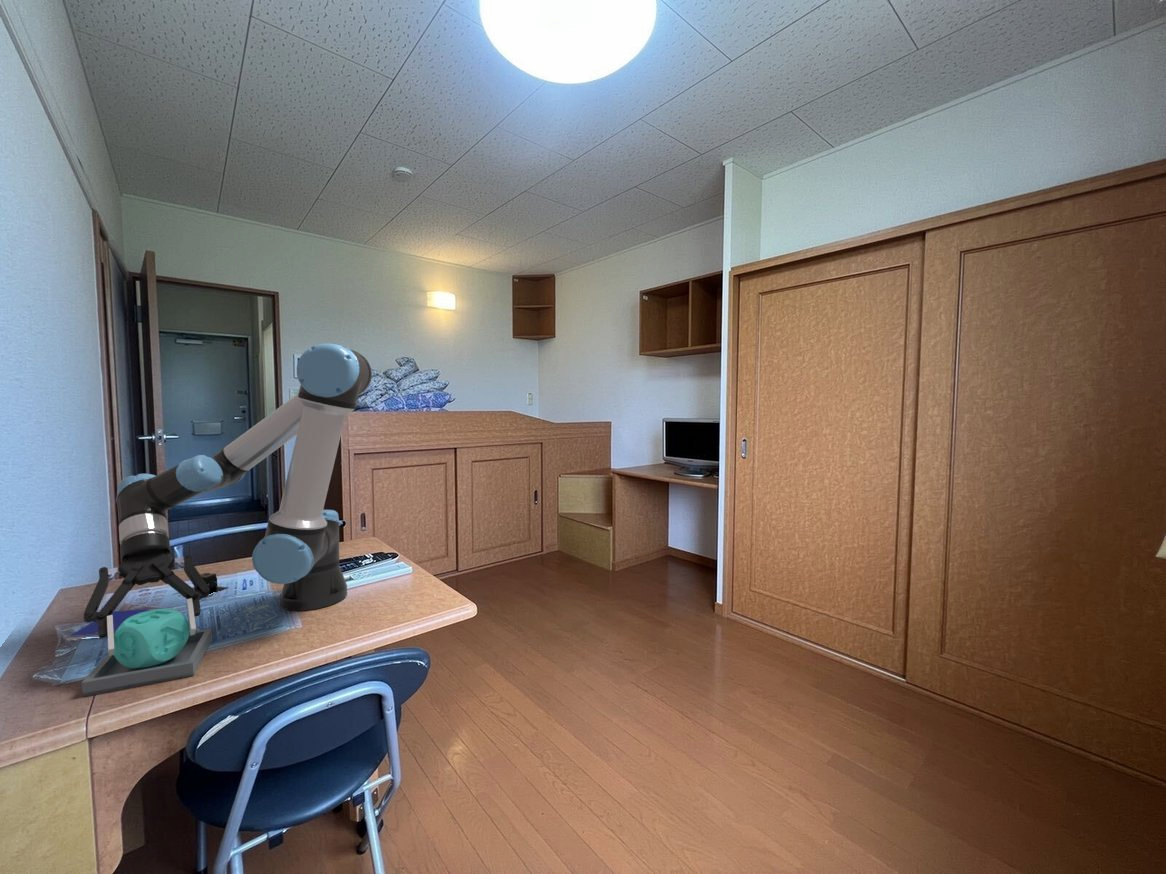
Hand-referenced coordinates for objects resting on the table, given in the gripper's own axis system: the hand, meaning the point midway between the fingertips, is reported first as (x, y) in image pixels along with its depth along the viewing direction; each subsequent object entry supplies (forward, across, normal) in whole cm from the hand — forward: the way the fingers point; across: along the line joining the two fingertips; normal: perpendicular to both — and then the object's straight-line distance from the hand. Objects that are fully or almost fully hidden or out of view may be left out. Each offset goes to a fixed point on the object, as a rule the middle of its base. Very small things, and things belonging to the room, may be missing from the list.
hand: (154, 641), depth 89 cm
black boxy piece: (-25, -13, -35) cm, 45 cm away
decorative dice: (+1, 0, -5) cm, 5 cm away
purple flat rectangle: (-17, +6, -26) cm, 32 cm away
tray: (+2, 0, -6) cm, 6 cm away
